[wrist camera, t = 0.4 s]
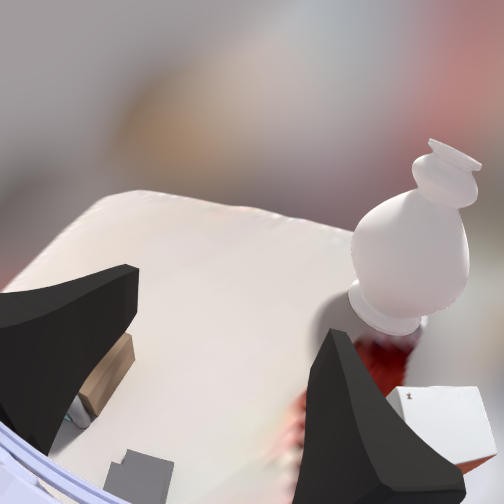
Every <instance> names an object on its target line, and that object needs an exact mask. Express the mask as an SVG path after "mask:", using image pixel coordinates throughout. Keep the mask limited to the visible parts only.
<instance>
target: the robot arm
mask: <svg viewBox="0 0 504 504" xmlns="http://www.w3.org/2000/svg"><path fill="white" fill-rule="evenodd" d="M138 283H139V268H136V267H133V266H130V265H127V264H123V265H119V266H116V267H112V268H109V269H106V270H103V271H100V272H97V273H94V274H91V275H88V276H85V277H82V278H78V279H75V280H71V281H68V282H64V283H61V284H58V285H54V286H49V287H45V288H40V289H34V290H28V291H19V292H10V293H0V504H63V503H62V502H60V501H58V500H57V499H55V498H54V497H53V496H52V495H51V494H50V493H49V492H47V490H46V489H45V488H44V487H43V486H42V485H41V484H40V482H39V481H38V479H37V478H36V477H35V476H33V475H32V474H31V473H30V472H29V471H31V472H32V473H33V474H35V475H36V476H38V477H39V478H40V479H42V480H43V481H45V482H46V483H48V484H49V485H51V486H52V487H54V488H55V489H57V490H58V491H60V492H62V493H63V494H65V495H66V496H68V497H70V498H71V499H73V500H75V501H76V502H78V503H80V504H131V503H129V502H127V501H124V500H122V499H120V498H118V497H116V496H114V495H112V494H110V493H108V492H106V491H104V490H102V489H100V488H98V487H96V486H94V485H93V484H91V483H89V482H87V481H85V480H84V479H82V478H80V477H78V476H77V475H75V474H73V473H72V472H70V471H68V470H67V469H65V468H63V467H62V466H60V465H59V464H57V463H56V462H54V461H52V460H51V459H49V458H48V457H47V456H48V454H49V451H50V448H51V446H52V444H53V441H54V439H55V436H56V434H57V432H58V430H59V428H60V425H61V423H62V421H63V419H64V417H65V415H66V413H67V411H68V410H69V408H70V406H71V404H72V402H73V401H74V399H75V397H76V395H77V394H78V392H79V390H80V389H81V387H82V386H83V384H84V382H85V381H86V379H87V378H88V376H89V375H90V373H91V372H92V371H93V369H94V368H95V367H96V366H97V365H98V363H99V362H100V361H101V360H102V359H103V357H104V356H105V355H106V354H107V353H108V352H109V350H110V349H111V348H112V347H113V346H114V345H115V343H116V342H117V341H118V340H119V339H120V337H121V336H122V335H123V334H124V332H125V331H126V330H127V328H128V327H129V325H130V323H131V322H132V320H133V319H134V317H135V315H136V314H137V306H138ZM17 461H18V462H19V463H20V464H21V465H20V464H19V463H18V462H17ZM22 465H23V466H24V467H25V468H27V469H28V470H29V471H27V470H26V469H25V468H24V467H23V466H22ZM465 496H466V488H465V483H464V478H463V473H462V470H461V469H460V468H458V467H457V466H456V465H454V464H453V463H451V462H450V461H448V460H447V459H445V458H444V457H443V456H441V455H440V454H439V453H437V452H436V451H435V450H434V449H433V448H431V447H430V446H429V445H428V444H427V443H426V442H424V441H423V440H422V439H421V438H420V437H419V436H418V435H417V434H416V433H415V432H414V431H413V430H412V429H411V428H410V427H409V426H408V425H407V424H406V423H405V422H404V420H403V419H402V418H401V417H400V416H399V415H398V413H397V412H396V411H395V410H394V408H393V407H392V406H391V405H390V403H389V402H388V401H387V399H386V398H385V397H384V395H383V394H382V392H381V391H380V389H379V388H378V386H377V385H376V383H375V382H374V380H373V379H372V377H371V376H370V374H369V372H368V371H367V369H366V367H365V365H364V364H363V362H362V360H361V358H360V357H359V355H358V353H357V351H356V349H355V348H354V346H353V344H352V342H351V340H350V338H349V337H348V335H347V333H346V332H342V331H338V330H335V329H331V328H330V330H329V332H328V334H327V336H326V338H325V340H324V342H323V344H322V346H321V348H320V350H319V353H318V355H317V357H316V359H315V361H314V363H313V365H312V367H311V369H310V375H309V381H308V387H307V396H306V420H305V441H304V451H303V457H302V462H301V467H300V473H299V477H298V482H297V486H296V490H295V495H294V498H293V502H292V504H460V503H461V502H462V501H463V499H464V498H465Z"/></svg>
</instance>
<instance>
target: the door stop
mask: <svg viewBox="0 0 504 504" xmlns="http://www.w3.org/2000/svg"><path fill="white" fill-rule="evenodd" d="M173 467H174V462H171V461H167V460H163V459H159V458H156V457H152V456H149V455H145V454H142V453H138V452H135V451H132V450H129V449H127V452H126V455H125V458H124V462H123V465H120V464H117V463H114V462H111V465H110V468H109V472H108V475H107V478H106V481H105V485H104V488H103V490H104V491H106V492H108V493H110V494H112V495H114V496H116V497H118V498H120V499H122V500H124V501H127V502H129V503H131V504H165V503H166V498H167V494H168V489H169V485H170V480H171V476H172V471H173Z"/></svg>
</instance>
